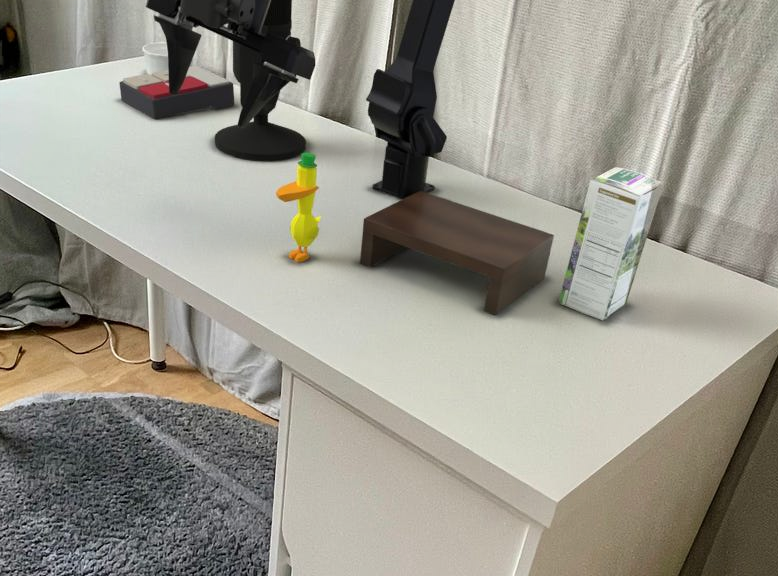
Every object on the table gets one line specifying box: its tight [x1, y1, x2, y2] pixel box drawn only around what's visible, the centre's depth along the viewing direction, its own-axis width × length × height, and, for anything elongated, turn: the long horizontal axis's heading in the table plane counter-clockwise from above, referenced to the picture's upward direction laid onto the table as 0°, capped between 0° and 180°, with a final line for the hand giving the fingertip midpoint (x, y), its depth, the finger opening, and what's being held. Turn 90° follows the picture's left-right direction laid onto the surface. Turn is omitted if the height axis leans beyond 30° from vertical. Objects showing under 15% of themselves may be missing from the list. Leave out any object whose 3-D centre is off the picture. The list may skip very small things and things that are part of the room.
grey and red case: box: [118, 65, 235, 120], centre depth 144 cm, size 11×4×15 cm
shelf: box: [359, 191, 555, 316], centre depth 102 cm, size 12×18×6 cm, turn 54°
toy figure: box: [275, 152, 322, 263], centre depth 100 cm, size 7×4×12 cm, turn 135°
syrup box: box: [558, 166, 664, 321], centre depth 95 cm, size 6×6×14 cm
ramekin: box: [142, 41, 194, 75], centre depth 157 cm, size 9×9×4 cm
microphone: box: [214, 0, 307, 162], centre depth 125 cm, size 14×14×25 cm
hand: (206, 110), depth 99 cm, fingers open, 9 cm apart
